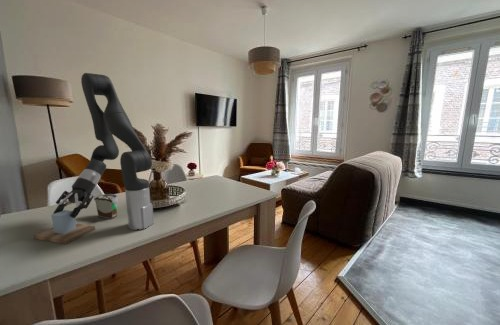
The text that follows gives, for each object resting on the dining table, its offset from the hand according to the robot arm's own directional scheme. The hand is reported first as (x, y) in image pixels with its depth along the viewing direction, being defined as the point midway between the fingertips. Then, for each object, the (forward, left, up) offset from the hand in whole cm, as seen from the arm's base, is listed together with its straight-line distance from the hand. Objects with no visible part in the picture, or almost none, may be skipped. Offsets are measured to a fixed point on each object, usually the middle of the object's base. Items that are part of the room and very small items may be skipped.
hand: (63, 216), depth 89 cm
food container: (-2, -20, -8) cm, 21 cm away
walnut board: (0, 0, -8) cm, 8 cm away
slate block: (0, 0, -6) cm, 6 cm away
